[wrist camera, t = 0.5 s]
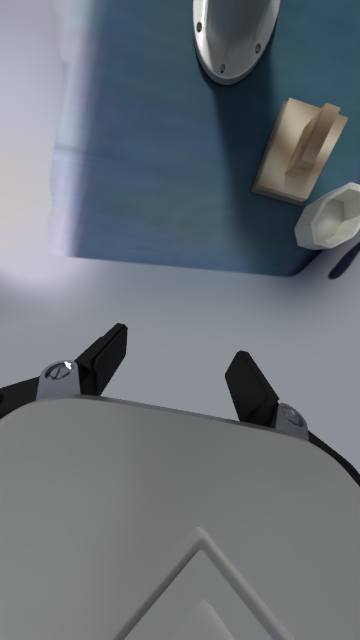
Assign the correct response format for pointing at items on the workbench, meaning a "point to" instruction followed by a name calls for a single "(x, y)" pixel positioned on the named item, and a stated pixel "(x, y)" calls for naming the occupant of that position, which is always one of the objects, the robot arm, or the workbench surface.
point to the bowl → (330, 219)
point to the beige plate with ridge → (300, 149)
